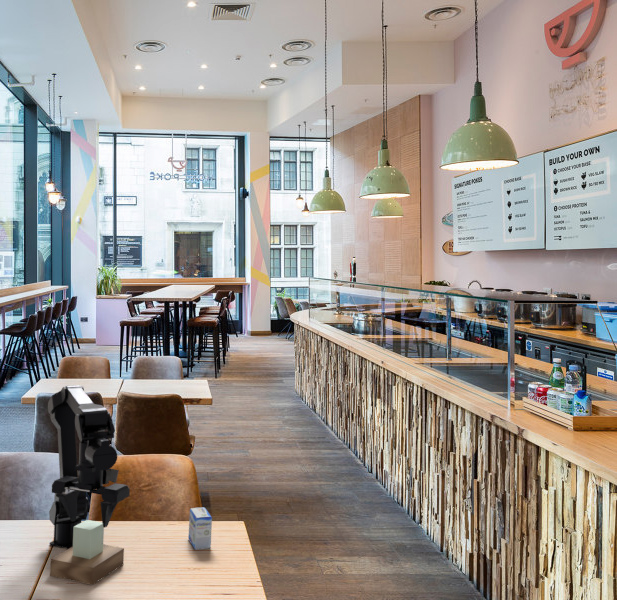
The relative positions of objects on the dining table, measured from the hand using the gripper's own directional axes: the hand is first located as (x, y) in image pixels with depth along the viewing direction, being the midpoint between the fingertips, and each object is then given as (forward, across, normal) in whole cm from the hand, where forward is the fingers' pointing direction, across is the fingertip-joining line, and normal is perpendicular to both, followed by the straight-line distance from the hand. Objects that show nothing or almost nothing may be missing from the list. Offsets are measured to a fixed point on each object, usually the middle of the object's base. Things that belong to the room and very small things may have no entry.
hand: (89, 524), depth 154 cm
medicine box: (+12, -17, -25) cm, 32 cm away
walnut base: (+11, 0, 0) cm, 11 cm away
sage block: (+7, 0, 0) cm, 7 cm away
